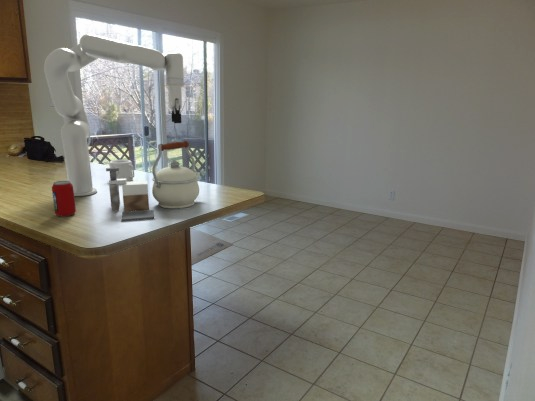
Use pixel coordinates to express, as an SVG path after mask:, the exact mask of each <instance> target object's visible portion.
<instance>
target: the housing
mask: <svg viewBox="0 0 535 401" xmlns="http://www.w3.org/2000/svg"><path fill="white" fill-rule="evenodd" d="M119 185H120V184H110V185H109V184H108V187H109V188H108V189H109V197H110V198H109V199H110V208H111V209H110V210H111V212H119V211H120V205H121V200H120V189H119V188H120V186H119ZM149 198H150V197H149V193H148V194H144V195H127V196H123V195H122V201H123V202H122V203H123V212H132V211H146V210H150V201H149Z"/></svg>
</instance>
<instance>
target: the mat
mask: <svg viewBox="0 0 535 401" xmlns="http://www.w3.org/2000/svg"><path fill="white" fill-rule="evenodd" d="M120 220H121V221H120V222H133V221H145V220H155V211H154V209H149V210H144V211H130V212H124V211H122V213H121V218H120Z"/></svg>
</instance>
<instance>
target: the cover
mask: <svg viewBox="0 0 535 401" xmlns="http://www.w3.org/2000/svg"><path fill="white" fill-rule="evenodd" d="M148 186H149V185H148V180H137V181H133V180H131V181H128V182H127V184H121V189H122V197H123V196H127V195H144V194H148V195H149V187H148Z"/></svg>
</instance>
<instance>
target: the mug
mask: <svg viewBox="0 0 535 401" xmlns="http://www.w3.org/2000/svg"><path fill="white" fill-rule="evenodd" d="M108 166H109V168H119V171H116V178H117V179H125V178H126V179H127V182H132V181H133V180H134V178H135V166H134V165H133V162H132V161H131V160H130V159H114V160H110V161H109V163H108Z"/></svg>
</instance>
